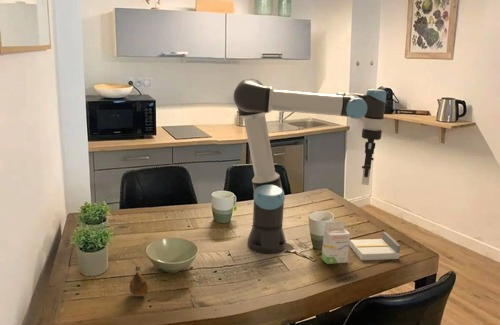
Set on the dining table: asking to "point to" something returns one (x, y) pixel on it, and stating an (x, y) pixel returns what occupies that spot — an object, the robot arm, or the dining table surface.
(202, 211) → the dining table surface
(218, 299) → the dining table surface
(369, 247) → the dock
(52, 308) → the dining table surface
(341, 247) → the ink box
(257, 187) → the robot arm
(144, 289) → the brown pointed lump
